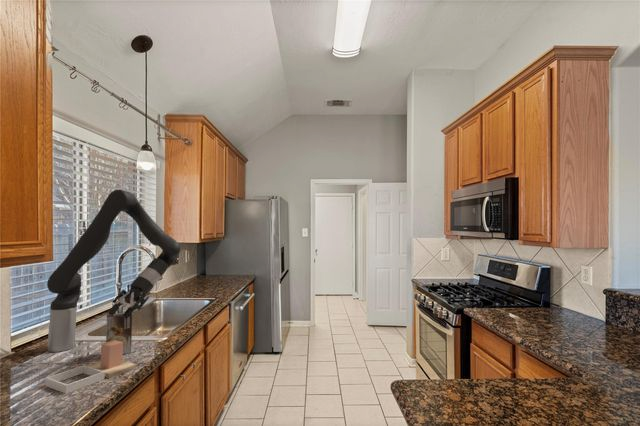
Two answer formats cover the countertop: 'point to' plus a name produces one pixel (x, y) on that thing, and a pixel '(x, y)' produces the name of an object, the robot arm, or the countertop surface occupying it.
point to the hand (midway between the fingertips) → (116, 315)
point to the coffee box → (120, 330)
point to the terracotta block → (111, 354)
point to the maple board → (115, 369)
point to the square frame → (66, 388)
